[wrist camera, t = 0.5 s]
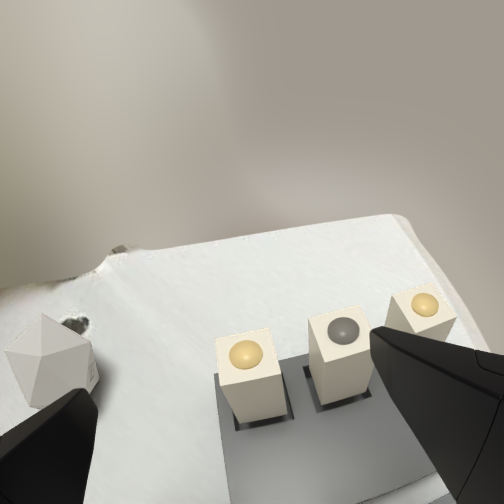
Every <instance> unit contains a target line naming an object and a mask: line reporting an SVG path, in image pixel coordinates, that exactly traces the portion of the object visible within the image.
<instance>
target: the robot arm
mask: <svg viewBox="0 0 504 504" xmlns="http://www.w3.org/2000/svg"><path fill="white" fill-rule="evenodd" d="M369 340H370V355H371V359H372V361H373V363H374V365H375V367H376V369H377V371H378V373H379V375H380V377H381V379H382V382H383V384H384V386H385V388H386V390H387V392H388V394H389V396H390V398H391V399H392V401H393V403H394V404H395V406H396V407H397V409H398V410H399V412H400V413H401V415H402V416H403V418H404V420H405V421H406V423H407V424H408V426H409V427H410V429H411V430H412V432H413V434H414V435H415V437H416V438H417V440H418V441H419V443H420V445H421V446H422V448H423V449H424V451H425V453H426V454H427V456H428V457H429V459H430V461H431V462H432V464H433V465H434V467H435V469H436V470H437V472H438V474H439V475H440V477H441V478H442V480H443V482H444V483H445V485H446V487H447V488H448V490H449V492H450V493H451V495H452V497H453V498H454V500H455V501H456V504H504V355H499V354H494V353H489V352H484V351H480V350H474V349H471V348H467V347H463V346H459V345H455V344H451V343H447V342H442V341H438V340H434V339H430V338H426V337H423V336H419V335H415V334H411V333H407V332H403V331H399V330H396V329H392V328H388V327H384V326H380V327H377V328H374V329H372V330H371V331H370V333H369ZM97 418H98V409H97V406H96V405H95V403H94V401H93V399H92V398H91V396H90V394H89V392H88V391H87V390H86V389H85V388H75V389H73V390H71V391H70V392H68V393H66V394H65V395H63V396H62V397H60V398H59V399H57V400H56V401H54V402H53V403H51V404H50V405H48V406H46V407H45V408H43V409H42V410H40V411H39V412H37V413H36V414H34V415H33V416H31V417H29V418H28V419H26V420H25V421H23V422H22V423H20V424H19V425H17V426H15V427H14V428H12V429H11V430H9V431H8V432H6V433H4V434H3V435H2V436H0V504H83V501H84V496H85V490H86V485H87V479H88V474H89V469H90V465H91V460H92V455H93V450H94V442H95V433H96V426H97Z"/></svg>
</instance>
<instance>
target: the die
mask: <svg viewBox="0 0 504 504" xmlns="http://www.w3.org/2000/svg"><path fill="white" fill-rule="evenodd" d="M5 354H6V356H7V359H8V361H9V364H10V366H11V368H12V371H13V373H14V375H15V378H16V380H17V382H18V384H19V386H20V389H21V391H22V393H23V395H24V397H25V399H26V401H27V403H28V405H29V407H33V408H37V409H43V408H45V407H46V406H48V405H50V404H51V403H53V402H54V401H56V400H57V399H59V398H60V397H62V396H63V395H65V394H66V393H68V392H70V391H71V390H73V389H75V388H85V389H86V390H87V391H88V392H89V394H90V393H91V391H92V390H93V388H94V386H95V385H96V383H97V382H98V380H99V379H100V378H99V374H98V370H97V366H96V362H95V358H94V354H93V350H92V345H91V342H90V341H89V340H87V339H85V338H84V337H82V336H81V335H79V334H77V333H76V332H74V331H72V330H70V329H69V328H67V327H65V326H63V325H61V324H60V323H58V322H56V321H55V320H53V319H51V318H50V317H48V316H46V315H45V314H43V313H41V314H40V315H39V316H38V317H37V318H36V319H35V320H34V321H33V322H32V323H31V324H30V325H29V326H28V327H27V328H26V329H25V330H24V331H23V332H22V333H21V334H20V335H19V336H18V337H17V338H16V339H15V340H14V341H13V342H12V343H11V344H10V345H9V346H8V347H7V348H6V349H5Z"/></svg>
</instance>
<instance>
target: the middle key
mask: <svg viewBox="0 0 504 504" xmlns="http://www.w3.org/2000/svg"><path fill="white" fill-rule="evenodd" d="M308 330H309V369H310V372H311V375H312V378H313V381H314V385H315V388H316V391H317V394H318V397H319V400H320V403H321V405H324V404H328V403H331V402H335V401H338V400H342V399H345V398H348V397H351V396H354V395H357V394H360V393H363V392H366V389H367V386H368V383H369V380H370V377H371V374H372V371H373V368H374V363H373V361H372V359H371V355H370V340H369V333H370V331H371V330H372V328H371V326H370V325H369V323H368V321H367V319H366V317H365V315H364V313H363V311H362V309H361V307H360V306H359V305H355V306H352V307H348V308H344V309H341V310H337V311H333V312H329V313H326V314H322V315H318V316H314V317H310V318H308Z"/></svg>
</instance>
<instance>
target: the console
mask: <svg viewBox="0 0 504 504" xmlns="http://www.w3.org/2000/svg"><path fill="white" fill-rule="evenodd" d="M278 363H279V366H280V370H281V375H282V381H283V388H284V395H285V401H286V408H287V414H285V415H281V416H277V417H272V418H267V419H262V420H257V421H252V422H247V423H241V424H240V423H239V422H238V420H237V418H236V416H235V414H234V412H233V410H232V408H231V407H230V405H229V403H228V401H227V399H226V397H225V395H224V393H223V391H222V389H221V387H220V383H219V374H218V373H216V374H214V380H215V389H216V398H217V407H218V415H219V424H220V431H221V439H222V447H223V454H224V461H225V468H226V475H227V482H228V488H229V495H230V501H231V504H359V503H362V502H365V501H368V500H370V499H373V498H376V497H378V496H381V495H384V494H386V493H389V492H391V491H394V490H396V489H398V488H401V487H403V486H405V485H408V484H410V483H412V482H414V481H416V480H418V479H421V478H423V477H425V476H427V475H429V474H431V473H433V472H435V471H437V470H436V469H435V467H434V465H433V464H432V462H431V461H430V459H429V457H428V456H427V454H426V453H425V451H424V449H423V448H422V446H421V445H420V443H419V441H418V440H417V438H416V437H415V435H414V434H413V432H412V430H411V429H410V427H409V426H408V424H407V423H406V421H405V420H404V418H403V416H402V415H401V413H400V412H399V410H398V409H397V407H396V406H395V404H394V403H393V401H392V399H391V398H390V396H389V394H388V392H387V390H386V388H385V386H384V384H383V382H382V379H381V377H380V375H379V373H378V371H377V369H376V367H375V365H374V368H373V371H372V374H371V377H370V380H369V383H368V386H367V389H366V392H363V393H360V394H357V395H354V396H351V397H348V398H345V399H342V400H338V401H335V402H331V403H328V404H324V405H321V403H320V400H319V397H318V394H317V391H316V388H315V385H314V381H313V378H312V375H311V372H310V369H309V353H308V354H304V355H300V356H296V357H292V358H288V359H284V360H280V361H278Z"/></svg>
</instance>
